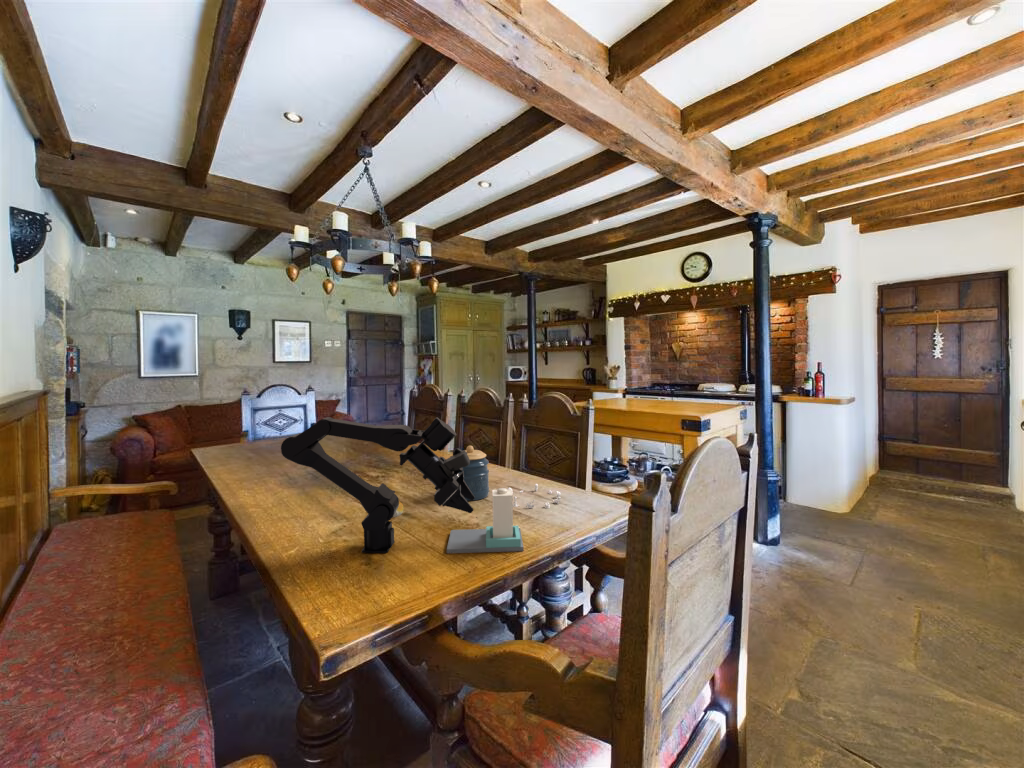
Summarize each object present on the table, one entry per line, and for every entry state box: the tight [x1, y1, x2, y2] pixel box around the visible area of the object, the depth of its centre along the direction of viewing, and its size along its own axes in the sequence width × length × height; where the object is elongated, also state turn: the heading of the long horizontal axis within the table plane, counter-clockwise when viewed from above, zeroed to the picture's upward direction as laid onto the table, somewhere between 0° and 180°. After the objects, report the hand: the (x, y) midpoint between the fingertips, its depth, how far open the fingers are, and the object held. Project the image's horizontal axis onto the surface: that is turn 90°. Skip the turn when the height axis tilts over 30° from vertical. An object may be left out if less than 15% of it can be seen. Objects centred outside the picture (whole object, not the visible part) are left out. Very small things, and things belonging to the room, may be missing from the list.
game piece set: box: [507, 483, 562, 509], centre depth 145 cm, size 19×20×4 cm
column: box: [491, 487, 514, 538], centre depth 110 cm, size 5×5×13 cm
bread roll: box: [391, 501, 404, 519], centre depth 133 cm, size 8×9×4 cm
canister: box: [459, 445, 490, 502], centre depth 149 cm, size 13×13×18 cm
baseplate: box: [446, 525, 524, 554], centre depth 112 cm, size 19×12×3 cm, turn 93°
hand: (473, 505), depth 109 cm, fingers open, 9 cm apart
